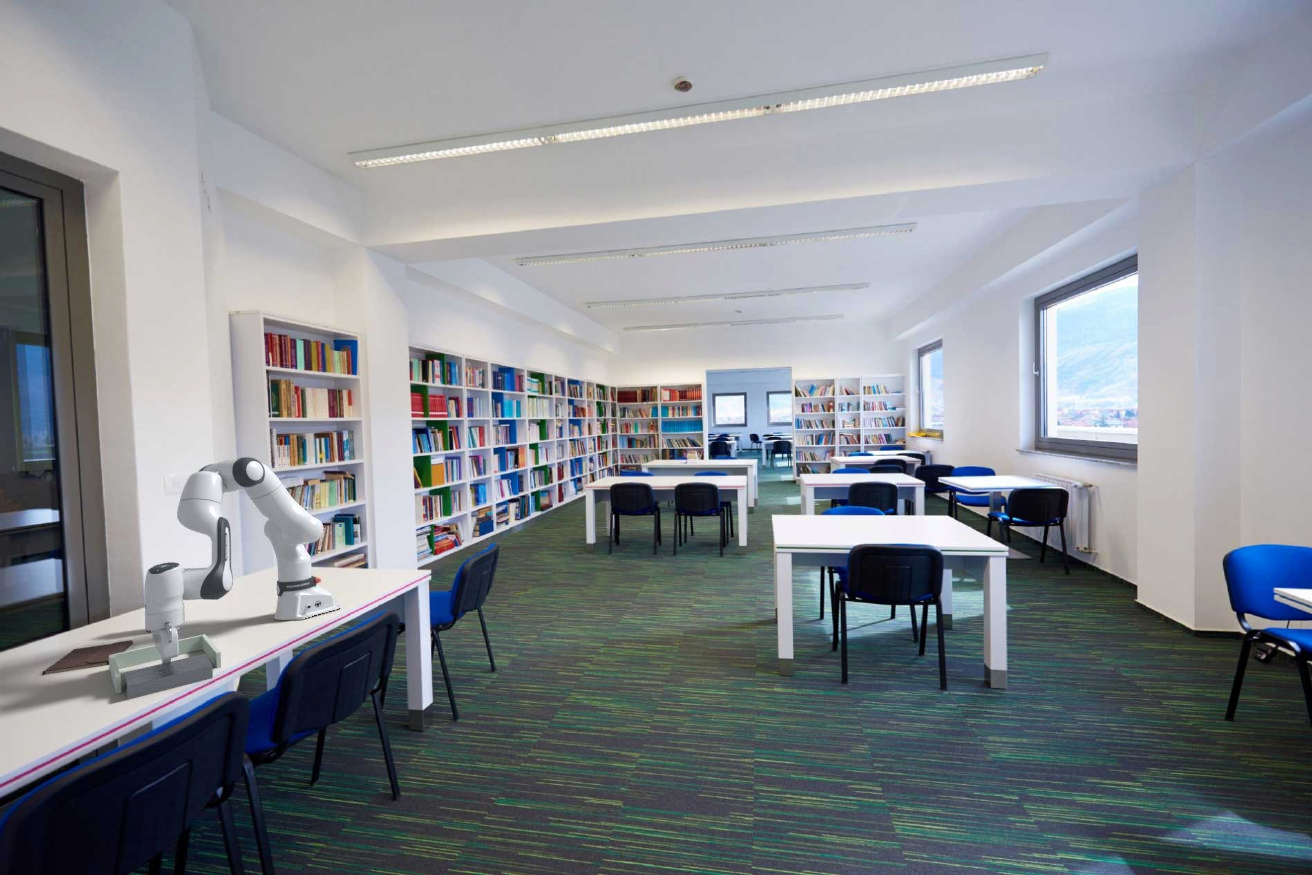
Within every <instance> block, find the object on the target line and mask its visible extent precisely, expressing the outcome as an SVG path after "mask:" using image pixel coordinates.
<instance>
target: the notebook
mask: <svg viewBox="0 0 1312 875" xmlns="http://www.w3.org/2000/svg"><path fill="white" fill-rule="evenodd" d="M133 644H134V642H133V640H131V639H130V640H124V641H123V640H122V641H117V642H113V643H108V644H107V643H106V644H102V645H101V644H100V645H93V646H87V647H86V646H85V647H80V648H74V649H73V650H70V652H68V653H66V654H65V655H64V656H63V657H62V658H60V659H59V660H57V661H55V662H54V663H53V664H52V665H50V666H49V667H47V668H46V669H45V670H43V671H42V673H41V675H42V676H44V675H51V674H50V673H52V674H56V673H62V672H63V673H65V672H69V671H70V672H71V671H76V670H83V669H90V668H96V667H103V666H109V655H113V654H117V653H122V652H126V650H128V649H129V648H130V647H131V646H132V645H133Z"/></svg>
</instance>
